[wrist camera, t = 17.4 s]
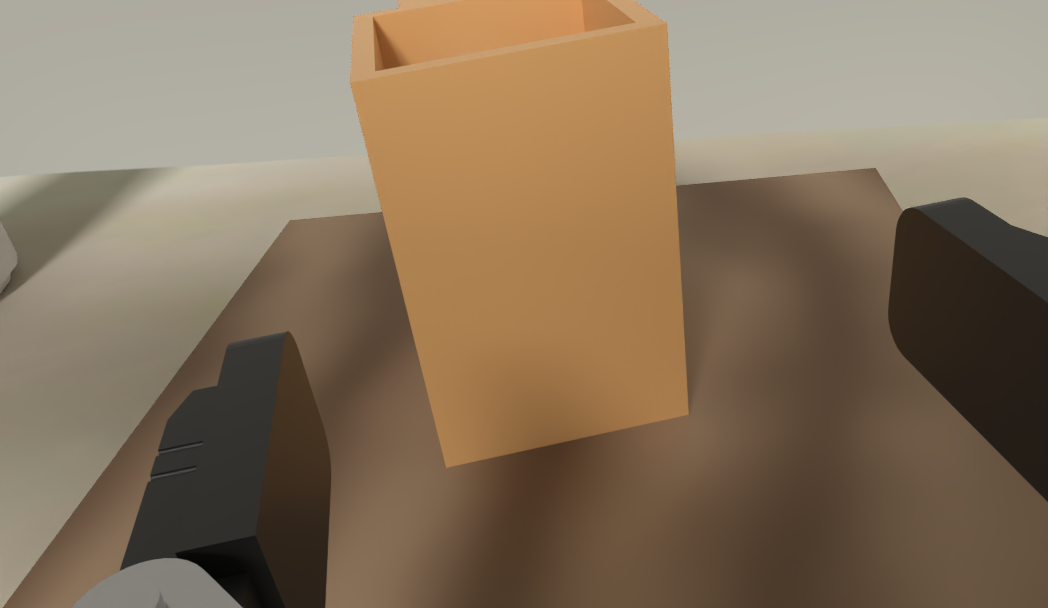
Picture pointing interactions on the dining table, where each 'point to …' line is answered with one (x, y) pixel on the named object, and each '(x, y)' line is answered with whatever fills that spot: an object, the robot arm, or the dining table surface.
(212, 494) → the robot arm
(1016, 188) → the dining table surface
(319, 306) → the mount board
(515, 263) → the open-top tan box
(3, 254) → the supplement can
